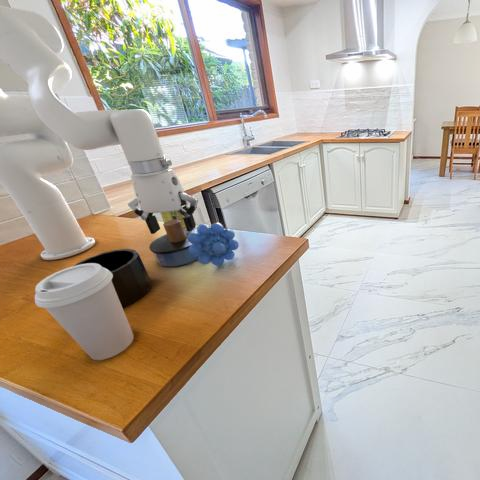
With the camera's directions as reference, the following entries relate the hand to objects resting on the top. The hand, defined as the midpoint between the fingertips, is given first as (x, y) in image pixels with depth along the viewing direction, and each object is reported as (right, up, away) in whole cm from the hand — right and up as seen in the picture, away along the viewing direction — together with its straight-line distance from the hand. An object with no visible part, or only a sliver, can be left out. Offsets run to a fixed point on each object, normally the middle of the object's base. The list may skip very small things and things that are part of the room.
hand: (174, 230), depth 77 cm
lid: (+1, -3, +1) cm, 3 cm away
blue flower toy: (+14, -9, -3) cm, 17 cm away
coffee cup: (+4, -22, -25) cm, 33 cm away
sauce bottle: (-7, -1, +16) cm, 17 cm away
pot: (-5, -15, -11) cm, 20 cm away
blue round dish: (+1, -7, +4) cm, 8 cm away
